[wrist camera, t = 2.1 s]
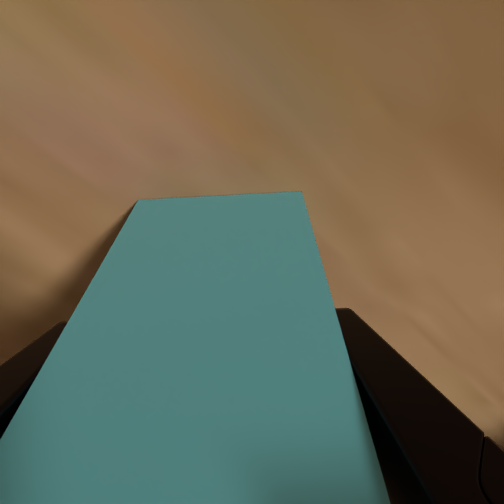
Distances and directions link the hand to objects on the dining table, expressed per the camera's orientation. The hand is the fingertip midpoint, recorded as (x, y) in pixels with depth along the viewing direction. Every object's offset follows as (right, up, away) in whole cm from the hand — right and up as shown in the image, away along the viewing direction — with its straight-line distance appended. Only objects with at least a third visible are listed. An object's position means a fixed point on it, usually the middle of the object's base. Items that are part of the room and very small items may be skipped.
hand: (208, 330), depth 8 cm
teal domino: (0, +3, +4) cm, 5 cm away
